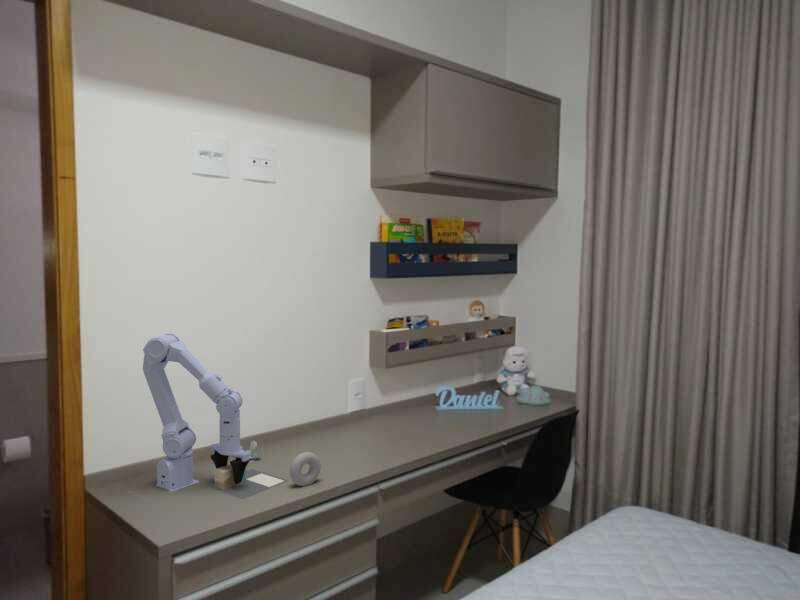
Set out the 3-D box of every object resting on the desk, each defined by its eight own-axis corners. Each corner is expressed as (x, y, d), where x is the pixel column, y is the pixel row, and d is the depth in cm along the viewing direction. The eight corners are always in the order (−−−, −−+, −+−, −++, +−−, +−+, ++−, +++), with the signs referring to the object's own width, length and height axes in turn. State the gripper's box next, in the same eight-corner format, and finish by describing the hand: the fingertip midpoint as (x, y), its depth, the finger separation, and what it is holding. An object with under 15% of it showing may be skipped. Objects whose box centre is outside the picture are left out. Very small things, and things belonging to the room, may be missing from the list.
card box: (223, 489, 167) (223, 472, 167) (214, 486, 170) (214, 469, 169) (245, 481, 174) (245, 464, 174) (236, 478, 176) (236, 461, 176)
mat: (242, 501, 161) (242, 498, 161) (206, 487, 170) (206, 485, 170) (288, 482, 175) (288, 480, 175) (252, 470, 184) (252, 468, 184)
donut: (316, 480, 177) (316, 447, 177) (322, 483, 175) (323, 450, 174) (287, 488, 171) (287, 454, 170) (293, 491, 168) (293, 457, 168)
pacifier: (249, 465, 190) (264, 460, 194) (248, 446, 189) (264, 442, 193) (236, 460, 194) (252, 455, 199) (235, 442, 194) (251, 437, 198)
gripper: (257, 435, 170) (257, 481, 171) (224, 426, 178) (225, 470, 179) (237, 441, 164) (238, 489, 165) (205, 432, 173) (205, 477, 173)
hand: (230, 480), depth 172 cm, fingers open, 6 cm apart
